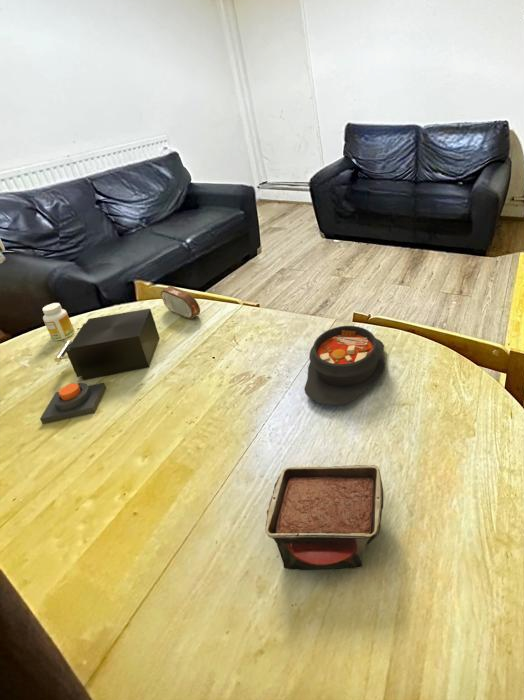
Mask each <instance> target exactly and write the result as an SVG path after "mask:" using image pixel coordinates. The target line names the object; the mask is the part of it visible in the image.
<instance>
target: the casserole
mask: <svg viewBox="0 0 524 700" xmlns="http://www.w3.org/2000/svg"><path fill="white" fill-rule="evenodd" d="M384 350H385V344H384V342H383V341H381V340H380V339H379V338H376V337H375V335H374V334H373V332H371V331H370V330H368V329H366V328H365V327H361V326H356V325H342V326H341V325H340V326H337V327H336V326H335V327H332V328H330V329H328V330H326V331H324V332H323V333H321V334H320V335H319V336H317V338H315V340H314V342H313V345H312V346H311V348H310V351H309V355H308V356H309V357H308V358H309V364H308V368H307V379H306V382H305V385H304V389H303V390H304V393H305V395H306V396H307V397H308V398H309V399H311V400H313V401H314V402H316V403H319V404H321V405H327V406H344V405H347V404H350V403H351V402H352V401H354V400H355V399H357V397H358V396H359V395H360V394H361V393H363V392H364V391H366V390H369V388H371V387H373V386H374V385H375V384H377V382H378V381H379V380H381V378H382V377H383V375H384V372H385V369H386V361H385V356H384Z"/></svg>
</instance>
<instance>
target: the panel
mask: <svg viewBox="0 0 524 700" xmlns="http://www.w3.org/2000/svg"><path fill="white" fill-rule="evenodd" d="M76 384H78V385H79V388H80V390H81V393H80V394H79V395H78V396H77V397H75V398H73V399H71V400H67V401H63V400H62V399H61V397H60V395H59V391H55V392H54V394H53V396H52V398H51V399H50V401H49V403H48V404H47V406H46V407H45V410H43V413H42V414H41V416H40V418H39V420H40V422H41V424H42V425H45V424H50V423H55V422H60V421H64V420H69V419H70V420H71V419H74V418H78V417H83V416H87V415H88V416H89V415H92V414H95V413H96V411H97V410H98V406H99V405H100V403H101V400H102V398H103V396H104V394H105V391H106V389H107V385H106V384H105V382H100V383H95V384H90V385H88V384H87V383H83V382H78V383H76Z"/></svg>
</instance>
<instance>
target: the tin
mask: <svg viewBox="0 0 524 700" xmlns="http://www.w3.org/2000/svg"><path fill="white" fill-rule="evenodd" d="M160 296H161V300H162V301H163V304H164V306H165V307H166V308H167V309H168V310H169V311H170V312H172V313H174V314H176V315H178V316H180V317H182V318H186V319H187V320H192V319H195V318H196V317H197V316H199V315H200V314H201V307H200V305H199V303H198V301H197V299H196V298H195V297H194V296H193V295H192V294H190V293H189V292H187V291H184V290H182V289H179V288H177V287H175V286H172V285H169V286H168V287H166V288H164V289H162V290H161V292H160Z"/></svg>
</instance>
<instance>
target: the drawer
mask: <svg viewBox="0 0 524 700" xmlns="http://www.w3.org/2000/svg"><path fill="white" fill-rule="evenodd" d="M85 324H86V323H83V325H82V326H81V328H80V329H79V330H78V332H77V334H76V335H75V336H74V338H73V339H72V340H66V341H65V343H64V344H63V346H62V347H61V349H60V350H59V352H58V353H57V354H56V356H55V357H54V362H55V363H60V362H62V361H63V360H67V359H68V360H69V362H70V364H71V366H72V368H73V371H74V374H75V375H76V377H77V378H79V377H81V374H80V372H79V370H78V367H77V365H76V363H75V360H74V358H73V356H72V354H71V351H70V349H69V348H70V347H71V345H72V344H73V342H74V341H75V339H76V338H77V336H78V334H79V333H80V331H81V330H82V328H83V327H84V325H85ZM81 378H82V377H81Z"/></svg>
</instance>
